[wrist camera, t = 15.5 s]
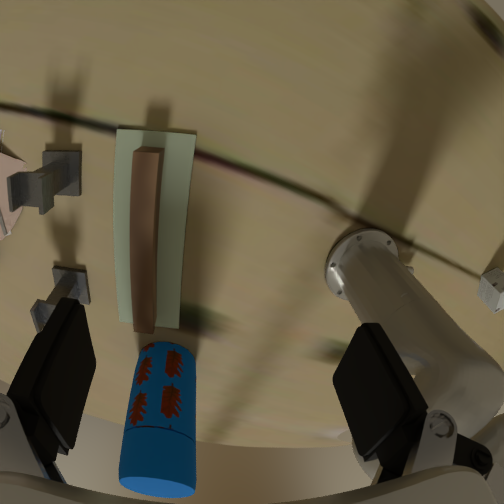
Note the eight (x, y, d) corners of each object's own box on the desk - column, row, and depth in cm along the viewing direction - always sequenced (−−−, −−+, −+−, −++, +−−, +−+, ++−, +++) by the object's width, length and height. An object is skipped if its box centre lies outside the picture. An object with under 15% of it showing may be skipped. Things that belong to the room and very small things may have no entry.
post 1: (81, 150, 33) (44, 169, 24) (81, 194, 36) (47, 223, 27) (45, 150, 32) (3, 168, 23) (46, 192, 35) (8, 219, 26)
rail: (164, 147, 34) (158, 153, 31) (156, 317, 46) (153, 334, 42) (141, 146, 34) (132, 151, 30) (138, 314, 45) (133, 331, 42)
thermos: (126, 352, 50) (101, 477, 28) (172, 332, 48) (160, 473, 26) (162, 384, 55) (154, 499, 33) (207, 368, 53) (211, 494, 31)
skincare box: (497, 266, 51) (517, 283, 45) (492, 287, 54) (510, 304, 48) (480, 274, 51) (500, 293, 45) (476, 296, 54) (494, 315, 48)
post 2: (86, 270, 41) (62, 311, 32) (90, 301, 44) (70, 344, 35) (54, 265, 40) (26, 304, 31) (59, 296, 43) (36, 336, 34)
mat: (196, 134, 34) (196, 135, 34) (179, 327, 48) (178, 328, 47) (118, 128, 32) (117, 129, 32) (120, 319, 46) (119, 321, 46)
